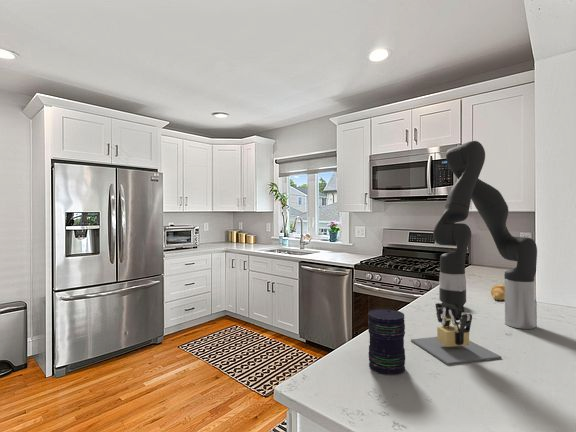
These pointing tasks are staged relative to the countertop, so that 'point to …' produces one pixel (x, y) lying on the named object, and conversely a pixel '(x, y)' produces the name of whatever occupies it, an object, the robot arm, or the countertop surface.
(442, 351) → the mat
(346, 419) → the countertop surface
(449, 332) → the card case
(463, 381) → the countertop surface
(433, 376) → the countertop surface
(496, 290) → the croissant
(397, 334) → the storage jar
